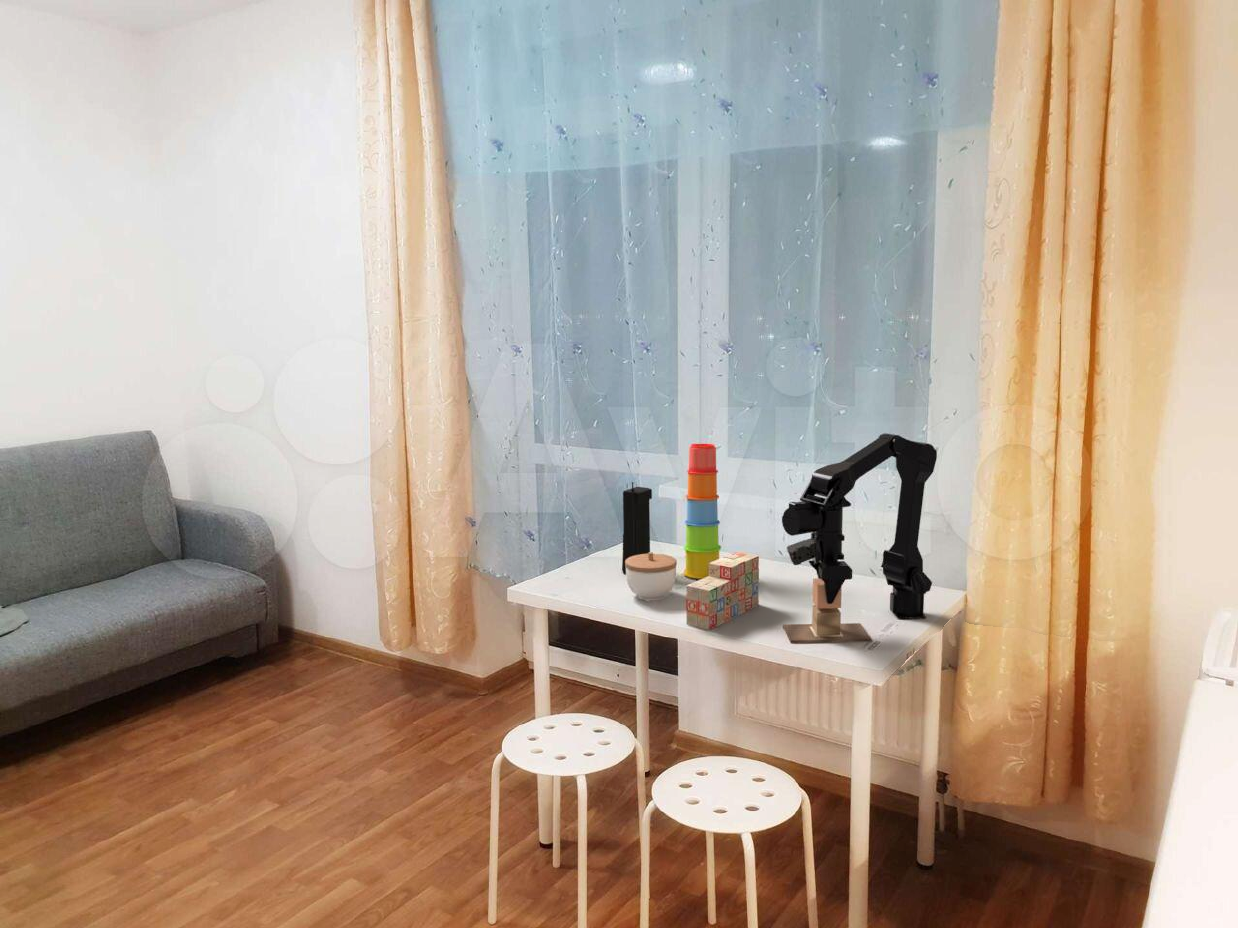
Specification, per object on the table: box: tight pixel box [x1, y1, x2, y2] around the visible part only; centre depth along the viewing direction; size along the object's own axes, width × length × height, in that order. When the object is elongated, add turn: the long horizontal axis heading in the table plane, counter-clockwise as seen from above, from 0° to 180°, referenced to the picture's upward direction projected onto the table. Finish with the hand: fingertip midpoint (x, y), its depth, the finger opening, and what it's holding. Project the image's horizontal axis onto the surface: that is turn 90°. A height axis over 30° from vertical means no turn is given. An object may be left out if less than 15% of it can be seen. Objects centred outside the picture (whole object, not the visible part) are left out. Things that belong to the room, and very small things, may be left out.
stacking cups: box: [683, 443, 722, 580], centre depth 238 cm, size 10×10×35 cm
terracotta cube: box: [812, 577, 843, 609], centre depth 196 cm, size 5×5×5 cm
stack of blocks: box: [685, 551, 760, 631], centre depth 210 cm, size 21×6×12 cm, turn 141°
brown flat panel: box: [782, 622, 873, 644], centre depth 197 cm, size 17×10×1 cm, turn 89°
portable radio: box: [621, 481, 653, 575], centre depth 243 cm, size 8×6×25 cm
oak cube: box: [811, 604, 842, 635], centre depth 197 cm, size 5×5×5 cm
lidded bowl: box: [625, 551, 678, 602], centre depth 224 cm, size 13×13×11 cm
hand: (827, 599), depth 196 cm, fingers closed on terracotta cube, 5 cm apart
